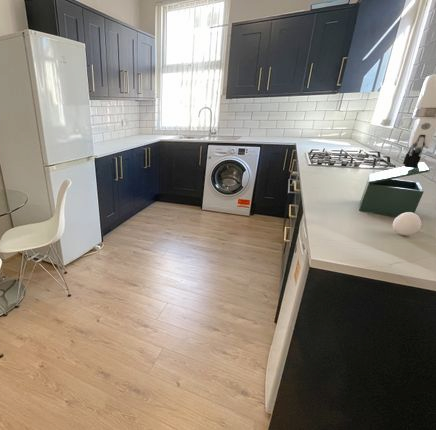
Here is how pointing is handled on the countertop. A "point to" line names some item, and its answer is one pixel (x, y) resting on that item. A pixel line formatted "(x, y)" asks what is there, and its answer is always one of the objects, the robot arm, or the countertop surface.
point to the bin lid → (397, 173)
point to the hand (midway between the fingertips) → (409, 165)
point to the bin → (391, 197)
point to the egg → (407, 223)
